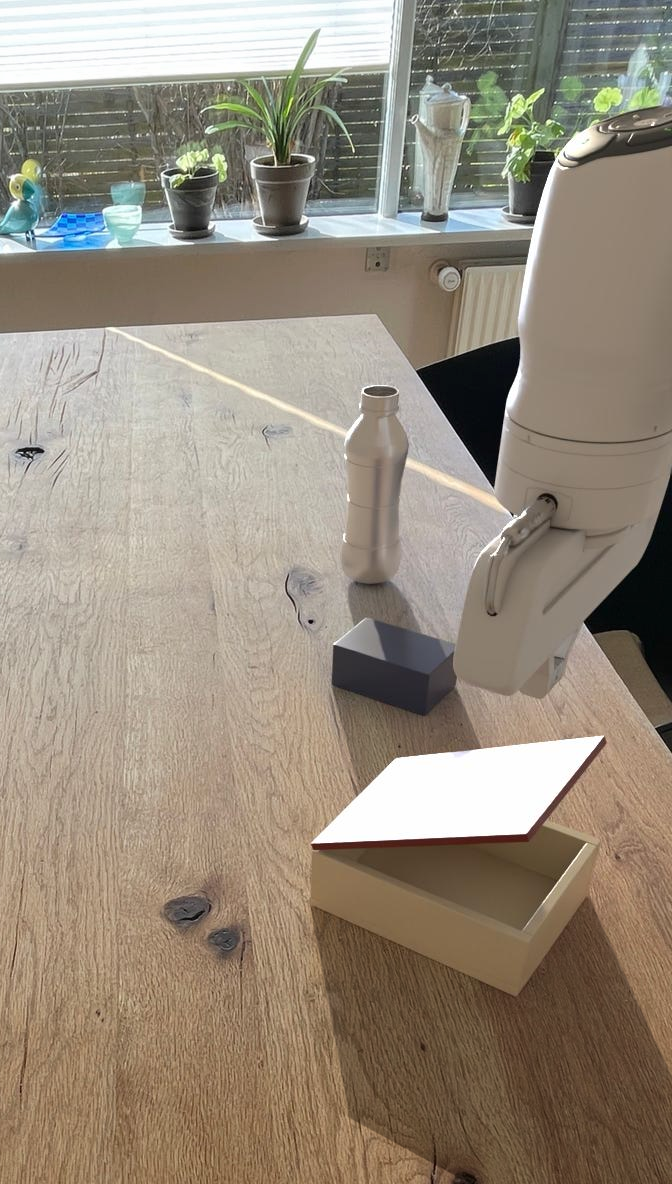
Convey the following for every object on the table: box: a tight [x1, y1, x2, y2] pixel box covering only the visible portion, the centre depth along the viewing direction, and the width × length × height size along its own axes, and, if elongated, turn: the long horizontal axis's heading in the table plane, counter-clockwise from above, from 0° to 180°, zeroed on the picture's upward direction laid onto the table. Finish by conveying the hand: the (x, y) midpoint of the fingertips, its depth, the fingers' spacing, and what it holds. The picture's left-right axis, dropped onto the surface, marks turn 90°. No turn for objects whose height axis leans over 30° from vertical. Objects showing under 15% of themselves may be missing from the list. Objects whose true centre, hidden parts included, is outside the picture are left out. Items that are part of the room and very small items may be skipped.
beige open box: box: [309, 819, 602, 998], centre depth 83 cm, size 17×13×5 cm
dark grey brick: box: [331, 616, 458, 717], centre depth 106 cm, size 10×6×4 cm, turn 53°
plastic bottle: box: [339, 384, 410, 585], centre depth 118 cm, size 6×7×20 cm
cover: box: [310, 735, 608, 851], centre depth 79 cm, size 17×13×1 cm
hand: (540, 686), depth 70 cm, fingers closed
